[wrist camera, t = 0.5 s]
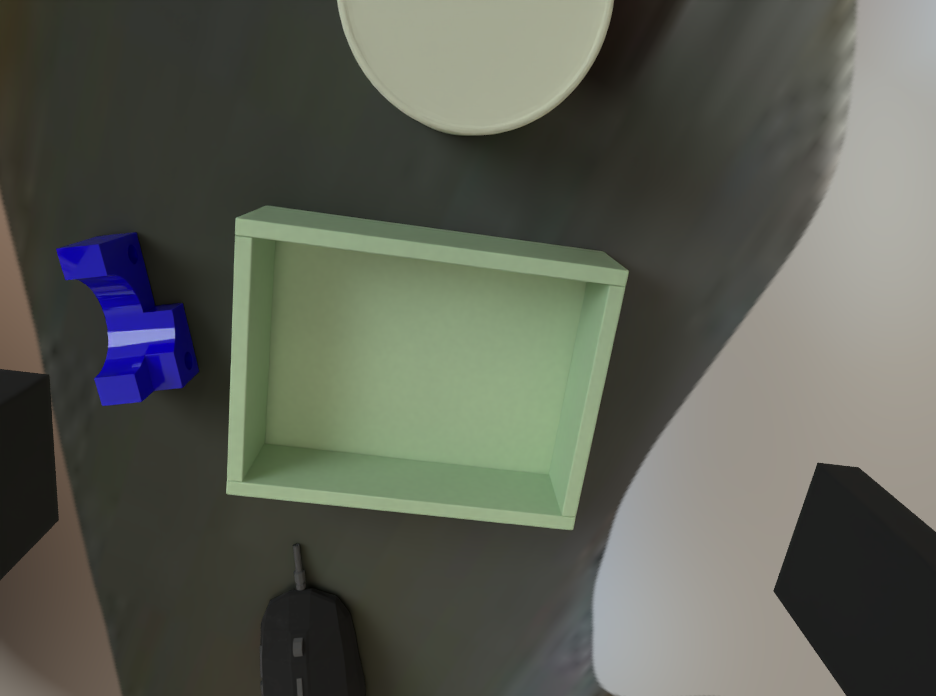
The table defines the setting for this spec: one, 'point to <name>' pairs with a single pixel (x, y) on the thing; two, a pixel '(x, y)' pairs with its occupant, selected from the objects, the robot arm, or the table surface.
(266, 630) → the gaming mouse
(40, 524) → the robot arm
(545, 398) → the bin
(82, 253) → the cable holder
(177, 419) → the table surface
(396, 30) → the can
